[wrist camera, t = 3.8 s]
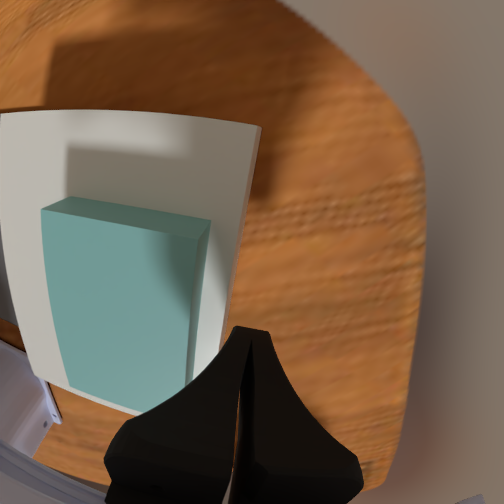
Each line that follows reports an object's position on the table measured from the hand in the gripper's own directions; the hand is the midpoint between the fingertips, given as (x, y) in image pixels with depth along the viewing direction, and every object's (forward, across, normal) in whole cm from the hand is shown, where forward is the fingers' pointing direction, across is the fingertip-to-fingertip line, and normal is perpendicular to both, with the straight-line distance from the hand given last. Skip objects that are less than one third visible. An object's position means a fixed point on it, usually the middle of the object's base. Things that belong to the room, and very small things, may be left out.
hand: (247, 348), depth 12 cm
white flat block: (+5, +7, 0) cm, 9 cm away
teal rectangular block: (+1, +5, 0) cm, 5 cm away
